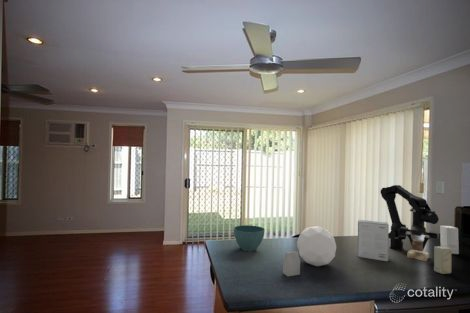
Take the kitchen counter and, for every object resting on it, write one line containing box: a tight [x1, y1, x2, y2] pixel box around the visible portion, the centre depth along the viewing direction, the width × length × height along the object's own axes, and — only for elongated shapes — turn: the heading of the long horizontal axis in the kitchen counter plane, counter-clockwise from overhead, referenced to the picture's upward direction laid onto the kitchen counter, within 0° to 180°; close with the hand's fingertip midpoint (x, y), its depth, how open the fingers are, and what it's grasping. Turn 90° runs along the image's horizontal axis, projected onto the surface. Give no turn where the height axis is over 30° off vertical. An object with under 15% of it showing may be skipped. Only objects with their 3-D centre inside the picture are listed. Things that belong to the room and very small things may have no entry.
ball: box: [296, 225, 337, 267], centre depth 144 cm, size 19×20×20 cm
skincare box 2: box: [433, 245, 452, 275], centre depth 138 cm, size 6×4×12 cm
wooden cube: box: [411, 238, 425, 252], centre depth 160 cm, size 5×5×5 cm
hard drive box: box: [357, 219, 390, 262], centre depth 157 cm, size 16×8×20 cm, turn 64°
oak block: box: [406, 248, 430, 262], centre depth 160 cm, size 9×9×3 cm
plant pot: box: [233, 224, 265, 252], centre depth 164 cm, size 18×18×12 cm
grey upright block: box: [282, 250, 301, 277], centre depth 129 cm, size 4×7×10 cm, turn 115°
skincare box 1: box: [439, 225, 460, 255], centre depth 173 cm, size 8×7×16 cm
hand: (418, 247), depth 160 cm, fingers closed on wooden cube, 5 cm apart
